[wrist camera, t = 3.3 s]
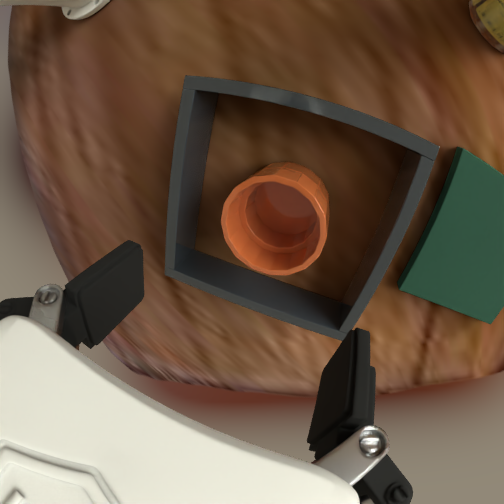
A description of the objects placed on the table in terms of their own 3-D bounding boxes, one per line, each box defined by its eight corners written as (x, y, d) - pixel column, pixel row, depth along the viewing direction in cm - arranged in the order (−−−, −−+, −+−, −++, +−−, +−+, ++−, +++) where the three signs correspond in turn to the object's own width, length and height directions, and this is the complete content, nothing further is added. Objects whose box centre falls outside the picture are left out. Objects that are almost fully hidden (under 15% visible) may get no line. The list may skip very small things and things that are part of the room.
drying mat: (396, 282, 22) (398, 290, 21) (457, 146, 15) (463, 148, 14) (487, 317, 20) (490, 324, 19) (545, 212, 13) (552, 216, 12)
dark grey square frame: (185, 254, 27) (164, 274, 24) (210, 79, 18) (185, 75, 15) (346, 312, 25) (344, 341, 22) (422, 140, 16) (439, 147, 13)
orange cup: (240, 225, 24) (214, 255, 19) (256, 150, 20) (231, 162, 16) (314, 251, 23) (306, 288, 18) (341, 176, 19) (341, 197, 15)
